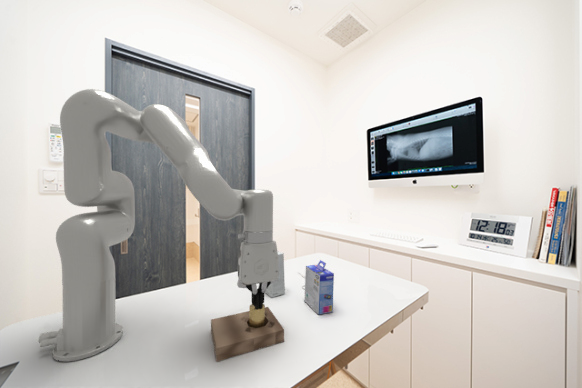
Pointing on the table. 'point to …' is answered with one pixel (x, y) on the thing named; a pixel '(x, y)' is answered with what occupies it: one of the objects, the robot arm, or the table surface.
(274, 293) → the skincare box
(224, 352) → the jig
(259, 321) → the brass cylinder
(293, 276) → the table surface
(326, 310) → the ink cartridge box
